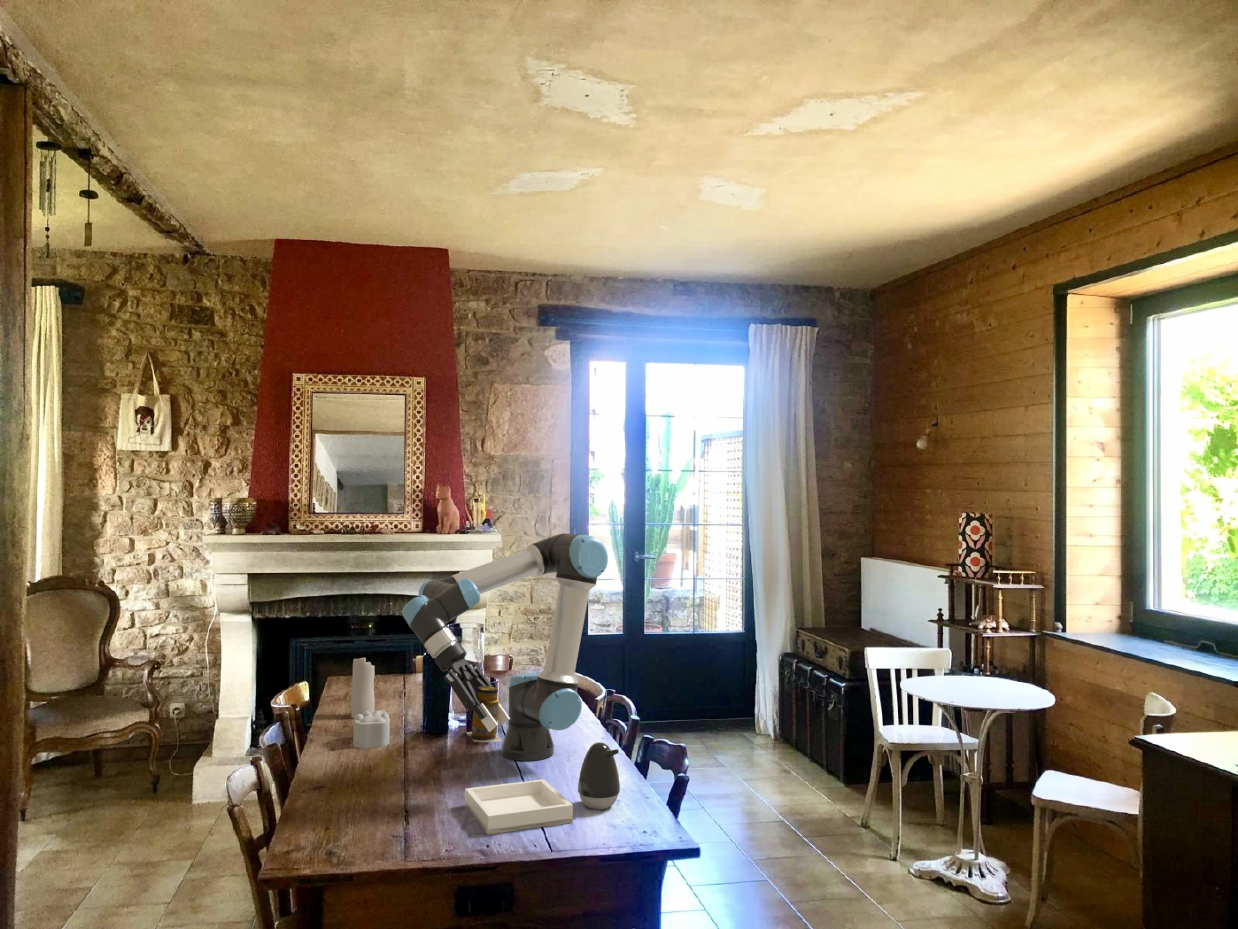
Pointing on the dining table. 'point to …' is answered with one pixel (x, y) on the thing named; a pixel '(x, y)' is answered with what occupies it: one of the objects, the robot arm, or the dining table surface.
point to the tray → (518, 806)
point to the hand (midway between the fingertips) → (499, 725)
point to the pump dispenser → (599, 777)
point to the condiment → (491, 702)
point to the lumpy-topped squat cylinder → (371, 730)
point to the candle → (363, 688)
